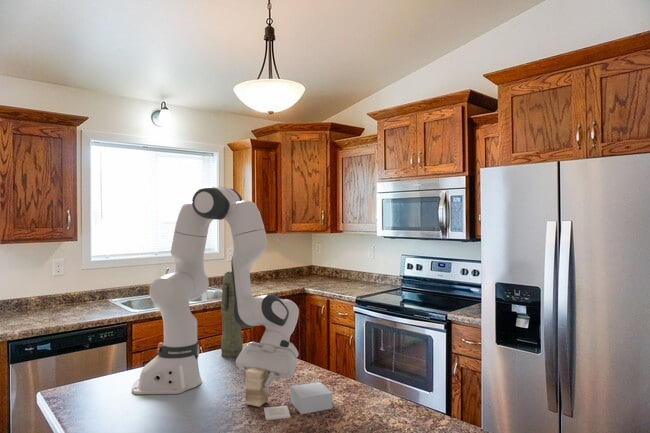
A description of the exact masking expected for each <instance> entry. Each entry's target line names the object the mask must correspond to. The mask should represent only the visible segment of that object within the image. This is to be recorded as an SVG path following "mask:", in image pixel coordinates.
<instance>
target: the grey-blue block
mask: <svg viewBox="0 0 650 433" xmlns="http://www.w3.org/2000/svg"><path fill="white" fill-rule="evenodd" d="M289 400H290V403H291V404H292V405H293V407H295V409H296V410H297V411H298V413H299V414H300V415H304V414H309V413H310V414H311V413H315V412H321V411H327V410H332V409H333V392H332V391H330V389H329V388H327V387H326V386H325V385H324V384H323V383H322V382H320V381H317V382H311V383H310V382H309V383H303V384H302V383H301V384H296V385H291V386H290V399H289Z"/></svg>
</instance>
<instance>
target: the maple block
mask: <svg viewBox="0 0 650 433" xmlns="http://www.w3.org/2000/svg"><path fill="white" fill-rule="evenodd" d="M268 378H269V375H268V371H267V370H266V369H261V368H255V367H253V368H251V369H249V370H247V371H246V370H245V379H246V383H245V404H246V405H249V406H254V407H261V406H263V405H264V404H266V403H267V402H269V387H268V388H264V387H263V386H262V384H263V381H264V380H267V379H268Z"/></svg>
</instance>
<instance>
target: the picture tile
mask: <svg viewBox="0 0 650 433" xmlns="http://www.w3.org/2000/svg"><path fill="white" fill-rule="evenodd" d="M263 411H264V412H263V413H264V417H265V421H269V420H270V421H271V420H279V419H280V420H281V419H290V418H291V413H290V410H289V407H288V405H280V406H269V407H263Z"/></svg>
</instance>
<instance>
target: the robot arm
mask: <svg viewBox="0 0 650 433" xmlns="http://www.w3.org/2000/svg"><path fill="white" fill-rule="evenodd" d="M191 200H192V201H188V202H185V203H184V204H182V206H181V208H180V211H179V212H178V217H177V220H176V221H175V227H174V232H173V236H172V237H173V238H172V241H171V243H172V244H171V247H170V248H171V249H170V254H171V256H172V257H173V258H174V262H175V272H172V273H166V274H162V276H159V277H158V278H156V279H154V280H153V281H152V283H151V284H150V287H149V289H148V290H149V296H150V297H149V298H150V299H151V301H152V303H153V304H155V306H156V307H158V309H159V311H160V314H161V317H162V322H163V342H161V341H160V342H159V343H158V345H157V350H156V351H157V355H156V356H155V357H154V358H153V359H151V360H150V361H148V363H146V364H145V365H144V366H143V368H142V369H141V371H140V375H139V379H137V380H136V381H135V382H133V384H132V387H131V392H132V393H133V394H134V395H177V394H181V393H184V392H185V391H188V390H190V389H193V388H197V387H199V385H201V383H202V382H203V380H202V377H201V372H200V367H199V354H200V353H199V352H200V346H199V341H198V319H197V318H196V316H195V315H193V313H192V311H191V308H190V307H191V306H190V302H191V301H195V300H197V299H199V298H200V297H202V296H203V295H204V294H205V293H206V292H207V291H208V289H209V286H210V281H209V278H208V275H206V273H205V263H204V262H205V260H204V259H205V258H204V257H205V250H206V245H207V240H208V239H207V238H208V233H209V229H210V228H209V227H210V224H211V223H212V222H213V221H214V220H216V221H217V220H219V221H221V220H224V221H226V222H227V224H228V225H229V229H230V232H231V237H232V244H233V252H232V253H233V254H232V257H231V261H230V264H231V272H232V278H233V288H234V317H235V320H236V321H237V323H238V324H239V325H240V326H241V328H244V329H250V328H252V327H257V326H264V327H265V331H264V332H263V334H262V337H261V339H260V341H259V342H253V341H250V342H249V343H246V344H245V345H243V349H242V351H241V352H240V354H239V356H238V357H236V360H235V366H236V367H237V369H239V370H242V371H245V372H246V371H247V370H249V369H251V368H253V367H255V368H261V369H266V370H267V371H268V379H267V380H264V381H263V384H262V386H263V387H264V388H268V389H269V387H270V385H271V383H273V382H274V381H275V380H276V379H277V377H280V378H286V379H291V378H292V377H293V376H294V373H295V370H296V367H297V363H298V360H297V358H299V354H300V353H299V351H298V350H297V347H296V346H295V345H294V344H293V343H292V342H290V338H291V335H292V334H293V332H294V331H295V328H296V326H297V323H298V320H299V314H300V309H299V307H298V305H297V303H295V302H294V301H292V299H287V298H284V299H283V298H279V296H278V295H275V294H274V293H273V294H270V293H269V294H262V295H258V296H254V294H253V292H252V284H251V283H252V282H251V275H250V274H251V272H250V271H251V269H252V267H253V265H254V264H255V262H257V261H258V260H259V259H260V258H261V257H262V256H263V255H264V253H265V252H266V250H267V248H268V237H267V232H266V229H265V225H264V222H263V219H262V216H261V213H260V210H259V208H258V206H257V204H256V203H255V202H253V201H251V200H248V199H247V200H246V199H244V200H243V197H242V195H241V194H240V193H239V192H238V191H236V190H235V189H233V188H227V187H224V186H204V187H201V188H199V189H198V190H196V192H195V193H194V194H193V197H192V199H191ZM244 384H246V378H245V380H244Z"/></svg>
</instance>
